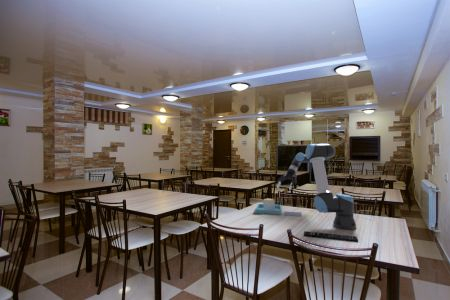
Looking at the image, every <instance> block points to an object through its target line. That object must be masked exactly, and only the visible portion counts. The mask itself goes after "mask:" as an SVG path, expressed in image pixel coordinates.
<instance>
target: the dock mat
mask: <svg viewBox="0 0 450 300" xmlns="http://www.w3.org/2000/svg"><path fill="white" fill-rule="evenodd" d="M287 216H288V217H303V215H302V212H300V211H284V217H287Z"/></svg>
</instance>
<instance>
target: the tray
mask: <svg viewBox="0 0 450 300" xmlns="http://www.w3.org/2000/svg"><path fill="white" fill-rule="evenodd" d="M282 209H283V206H282V204H275V210H264V203H257V205H256V207H255V209H254V210H255V211H254V213H255V215H278V216H279V215H280V216H281V215H282Z"/></svg>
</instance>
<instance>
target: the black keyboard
mask: <svg viewBox="0 0 450 300" xmlns="http://www.w3.org/2000/svg"><path fill="white" fill-rule="evenodd" d="M303 232H304V233H303V237H307V238H317V239H326V240H335V241H342V242H343V241H345V242H353V243H359V239H358V237H357V236H355V235H344V234H338V233H336V234H334V233H326V232H325V233H324V232H319V231H317V232H316V231H308V230H307V231H305V230H304V231H303Z"/></svg>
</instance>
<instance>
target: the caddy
mask: <svg viewBox="0 0 450 300" xmlns="http://www.w3.org/2000/svg"><path fill="white" fill-rule="evenodd" d="M275 203H276V202H275V199H273V198H264V199H263V204H264V210H275V205H276V204H275Z"/></svg>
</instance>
